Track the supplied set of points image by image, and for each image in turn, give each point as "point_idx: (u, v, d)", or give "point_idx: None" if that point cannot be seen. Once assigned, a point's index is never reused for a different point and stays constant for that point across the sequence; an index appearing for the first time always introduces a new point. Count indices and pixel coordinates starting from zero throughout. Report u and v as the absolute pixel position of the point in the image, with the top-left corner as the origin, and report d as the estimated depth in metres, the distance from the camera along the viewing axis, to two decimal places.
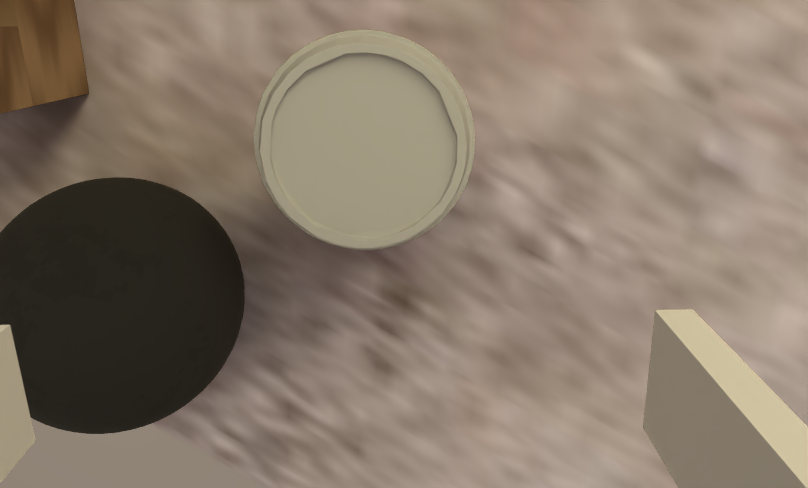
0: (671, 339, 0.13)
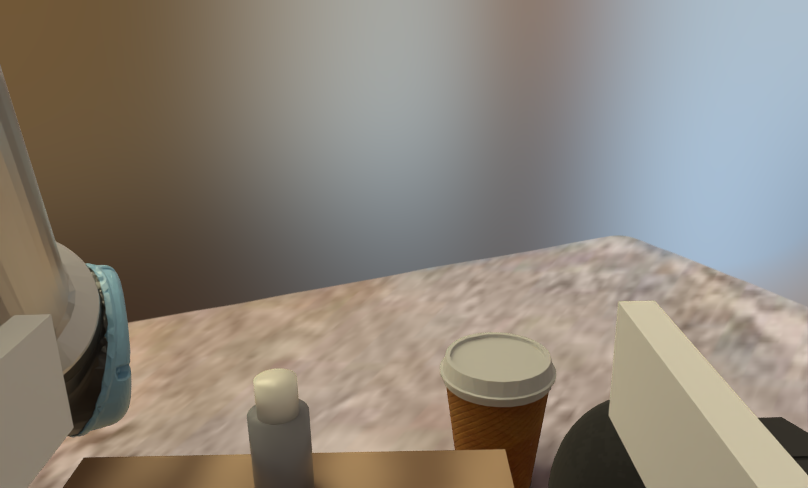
0: (632, 329, 0.14)
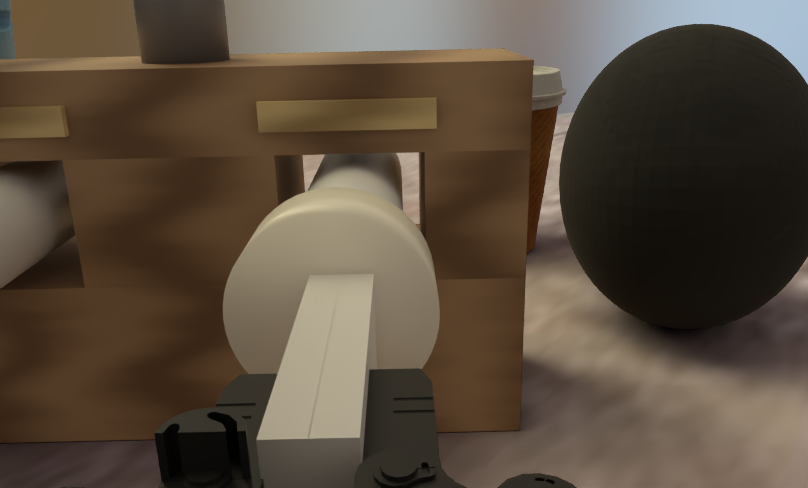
0: None
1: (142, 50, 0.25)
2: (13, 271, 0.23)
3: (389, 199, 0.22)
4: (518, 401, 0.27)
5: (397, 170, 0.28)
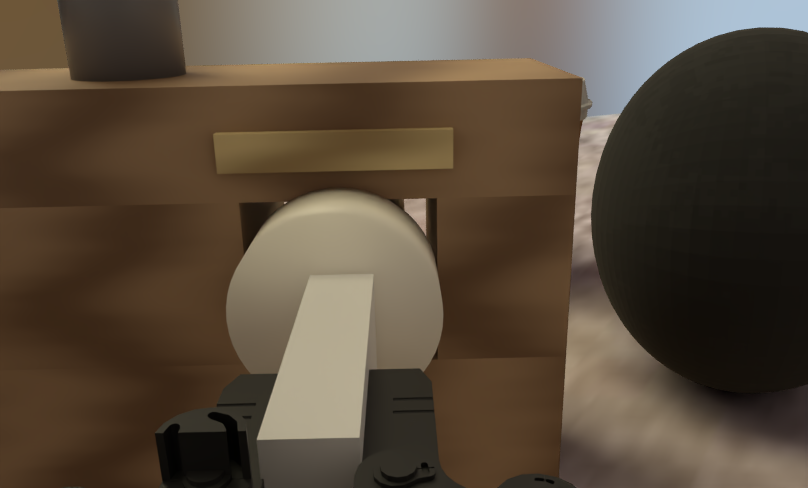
0: None
1: (69, 63, 0.20)
2: None
3: (391, 199, 0.22)
4: None
5: None
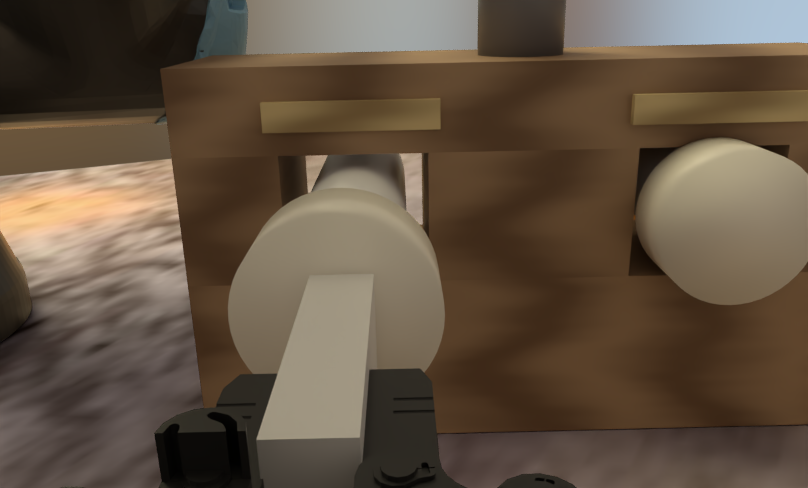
0: None
1: (490, 43, 0.25)
2: None
3: None
4: None
5: None
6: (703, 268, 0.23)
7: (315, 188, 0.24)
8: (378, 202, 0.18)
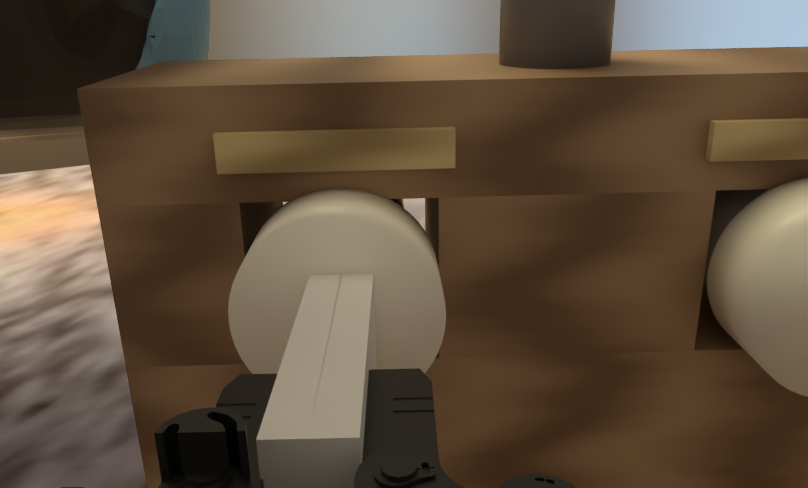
0: None
1: (517, 50, 0.19)
2: None
3: None
4: None
5: None
6: (805, 354, 0.17)
7: None
8: (378, 202, 0.17)
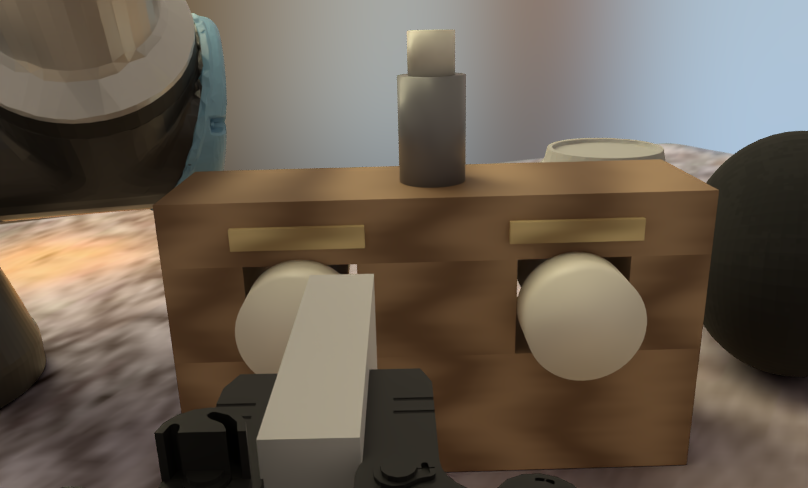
0: None
1: (406, 175, 0.33)
2: None
3: None
4: (687, 442, 0.35)
5: None
6: (560, 354, 0.30)
7: None
8: (320, 269, 0.31)
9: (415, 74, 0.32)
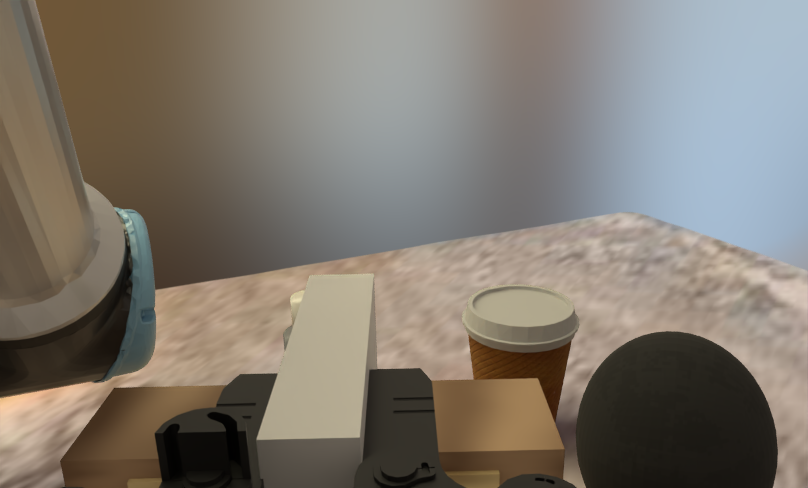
0: None
1: None
2: None
3: None
4: None
5: None
6: None
7: None
8: None
9: None
